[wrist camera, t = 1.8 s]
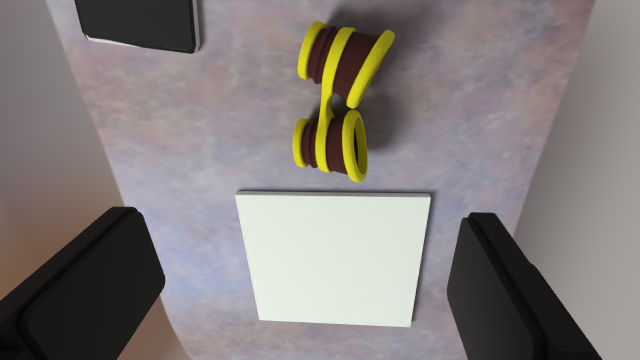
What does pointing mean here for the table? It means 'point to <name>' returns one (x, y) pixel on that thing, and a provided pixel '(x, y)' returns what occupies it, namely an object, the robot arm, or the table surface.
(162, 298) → the table surface
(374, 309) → the mat
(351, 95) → the opera glasses
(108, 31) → the smartphone
